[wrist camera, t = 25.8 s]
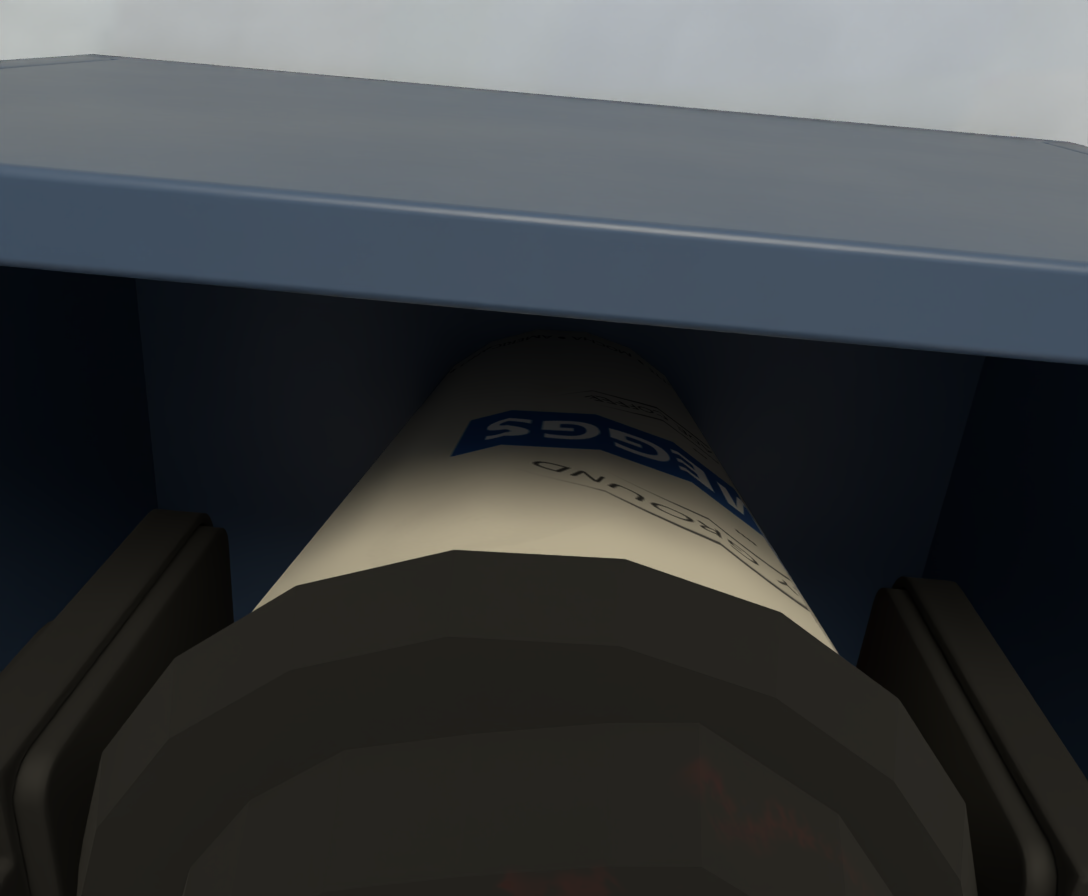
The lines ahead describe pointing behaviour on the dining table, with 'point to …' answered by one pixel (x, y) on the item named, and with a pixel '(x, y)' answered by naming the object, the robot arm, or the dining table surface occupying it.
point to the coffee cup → (528, 683)
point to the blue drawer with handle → (541, 322)
